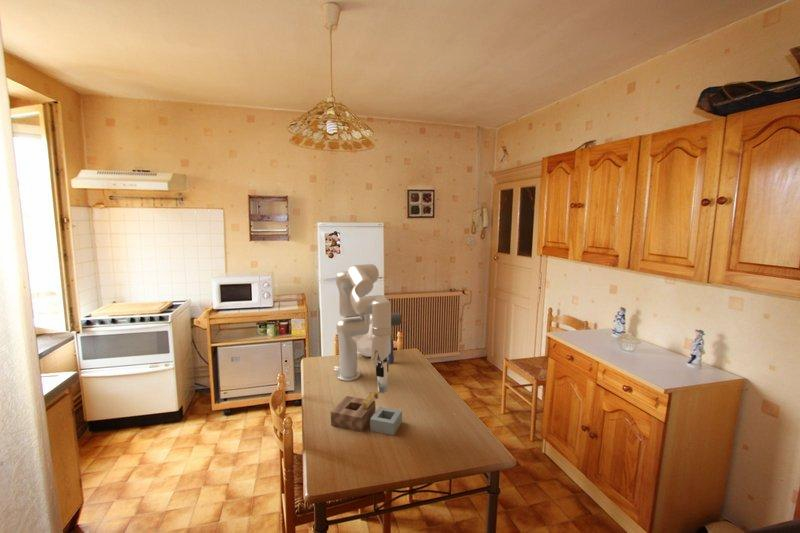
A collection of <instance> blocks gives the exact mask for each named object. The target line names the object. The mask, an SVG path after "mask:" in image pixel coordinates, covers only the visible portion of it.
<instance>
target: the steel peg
mask: <svg viewBox="0 0 800 533" xmlns="http://www.w3.org/2000/svg"><path fill="white" fill-rule="evenodd" d="M378 362H379V363H380V364H381V362H380V361H378ZM387 363H388V362H386V361H383V367H384V377H378V376H376V377H377V378H376V379H377V392H379V394H380V393H381V394H385V393H387V392H388V372H387Z"/></svg>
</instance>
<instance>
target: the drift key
mask: <svg viewBox="0 0 800 533" xmlns="http://www.w3.org/2000/svg"><path fill="white" fill-rule="evenodd" d="M379 394H380V393H379V392H378V391H373V390H371V391H370V392H369V395H368V396H367V397H366V398H364V399H365V400H364V402H363V403H362V404H363V408H364V409H367V408H368V407H369V406H370V405H371V404H372V403H373V401H376V400H377V399H380V398H379Z"/></svg>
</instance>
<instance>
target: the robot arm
mask: <svg viewBox="0 0 800 533" xmlns="http://www.w3.org/2000/svg"><path fill="white" fill-rule="evenodd" d="M379 276H380V272H379V269H378V267H377V266H376V265H375V264H373V263H368V264H355V265H352V266H351V267H349V268H348V269H347V270H345V271H344V270H343V271H339V272H337V274H336V276H335V284H336V286H337V289H338V293H339V296H338V297H339V302H338V303H339V306H338V307H339V308H338V310H339V315H340V317H341V318H344V319H340V320H339V321H337V323H336V328H335V329H336V332H337V334H336V335H337V338H338V339H337V340H338V341H337V342H338V358H339V359H338V361H339V364H338V365H339V366H338V365H334V366H333V372H337V374H336V378H337V379H338V380H340V381H343V382H345V381H346V382H347V381H348V382H349V381H355V380H357V379H359V378H360V377H361V371H359V370H358V351H357V344H356V342H355V341H354V340H353V339H352V337H353V336H359V335H365V334H367V333H368V332H369V326H370V316H372V335H373V337H372V347H371V357H370V358H371V360H372V361H373V365H374V366H375V376H376V377H377V376H378V377H384V367H383V361H386V362H387V373H388V372H389V363H388V362H389V358H388V357H389V354H390V353H391V337H390V335H391V313H392V304H391V301H390V299H388V298H387V297H386V296H385V295H382V294H377V295H368V294H370V292H372V291H373V288H374V284H375V283H376V282H377V281H378V280H379ZM366 295H367V296H366ZM378 361H380V362H381V364H380V363H379V362H378Z"/></svg>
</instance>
